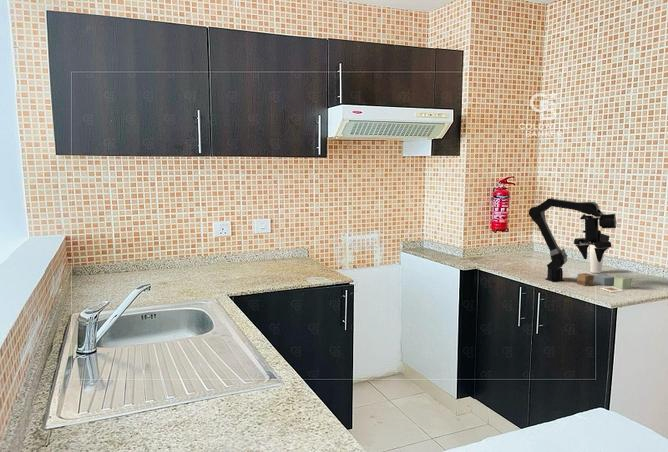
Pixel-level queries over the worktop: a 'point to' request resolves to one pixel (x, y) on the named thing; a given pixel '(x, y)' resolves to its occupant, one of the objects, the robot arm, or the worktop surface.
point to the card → (611, 289)
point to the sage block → (622, 282)
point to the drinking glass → (595, 261)
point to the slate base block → (604, 279)
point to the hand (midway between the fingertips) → (592, 260)
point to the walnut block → (585, 279)
